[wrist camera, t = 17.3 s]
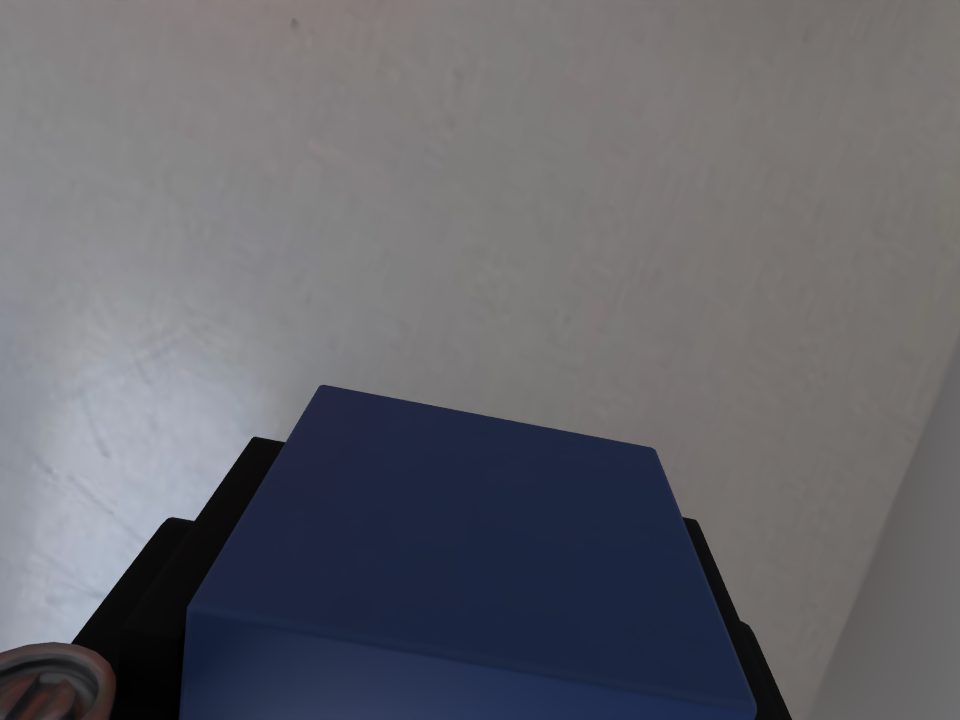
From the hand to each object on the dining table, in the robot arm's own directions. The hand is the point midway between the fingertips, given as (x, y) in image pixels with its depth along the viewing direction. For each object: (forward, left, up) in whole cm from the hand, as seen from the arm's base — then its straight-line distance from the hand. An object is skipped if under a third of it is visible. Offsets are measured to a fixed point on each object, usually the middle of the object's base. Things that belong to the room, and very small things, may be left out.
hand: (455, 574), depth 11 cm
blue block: (0, 0, 0) cm, 0 cm away
